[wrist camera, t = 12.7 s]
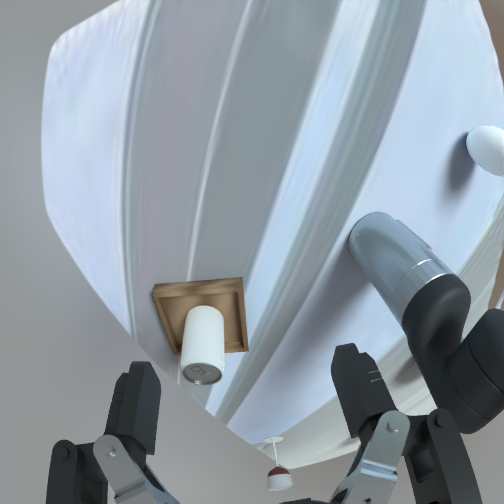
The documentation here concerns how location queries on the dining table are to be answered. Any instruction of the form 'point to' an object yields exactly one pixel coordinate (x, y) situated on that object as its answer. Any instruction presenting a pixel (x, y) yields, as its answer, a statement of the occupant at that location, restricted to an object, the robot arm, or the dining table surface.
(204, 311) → the can
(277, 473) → the wineglass
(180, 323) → the tray
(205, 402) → the dining table surface
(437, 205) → the dining table surface
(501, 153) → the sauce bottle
